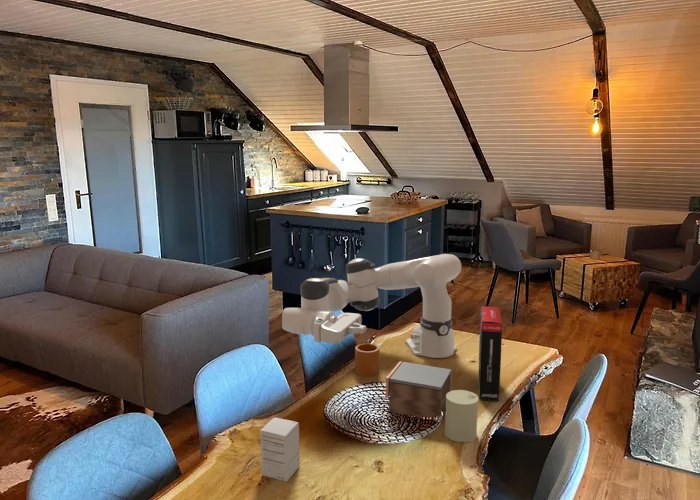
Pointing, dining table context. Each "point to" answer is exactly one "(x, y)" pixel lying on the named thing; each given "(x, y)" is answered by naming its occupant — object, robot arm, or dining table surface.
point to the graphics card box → (490, 353)
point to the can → (461, 416)
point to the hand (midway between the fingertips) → (364, 329)
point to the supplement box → (280, 449)
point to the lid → (418, 376)
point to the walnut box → (418, 399)
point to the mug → (367, 359)
